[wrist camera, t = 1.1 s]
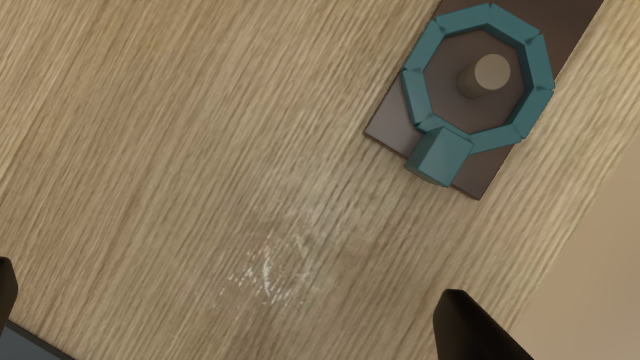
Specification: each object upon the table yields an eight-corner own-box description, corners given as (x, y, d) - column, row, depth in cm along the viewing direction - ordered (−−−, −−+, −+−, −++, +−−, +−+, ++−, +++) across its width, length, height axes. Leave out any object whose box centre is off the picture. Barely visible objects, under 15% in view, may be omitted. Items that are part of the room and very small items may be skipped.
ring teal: (449, -14, 23) (473, -49, 19) (568, 57, 23) (618, 36, 19) (358, 140, 24) (362, 137, 20) (474, 209, 24) (502, 220, 20)
